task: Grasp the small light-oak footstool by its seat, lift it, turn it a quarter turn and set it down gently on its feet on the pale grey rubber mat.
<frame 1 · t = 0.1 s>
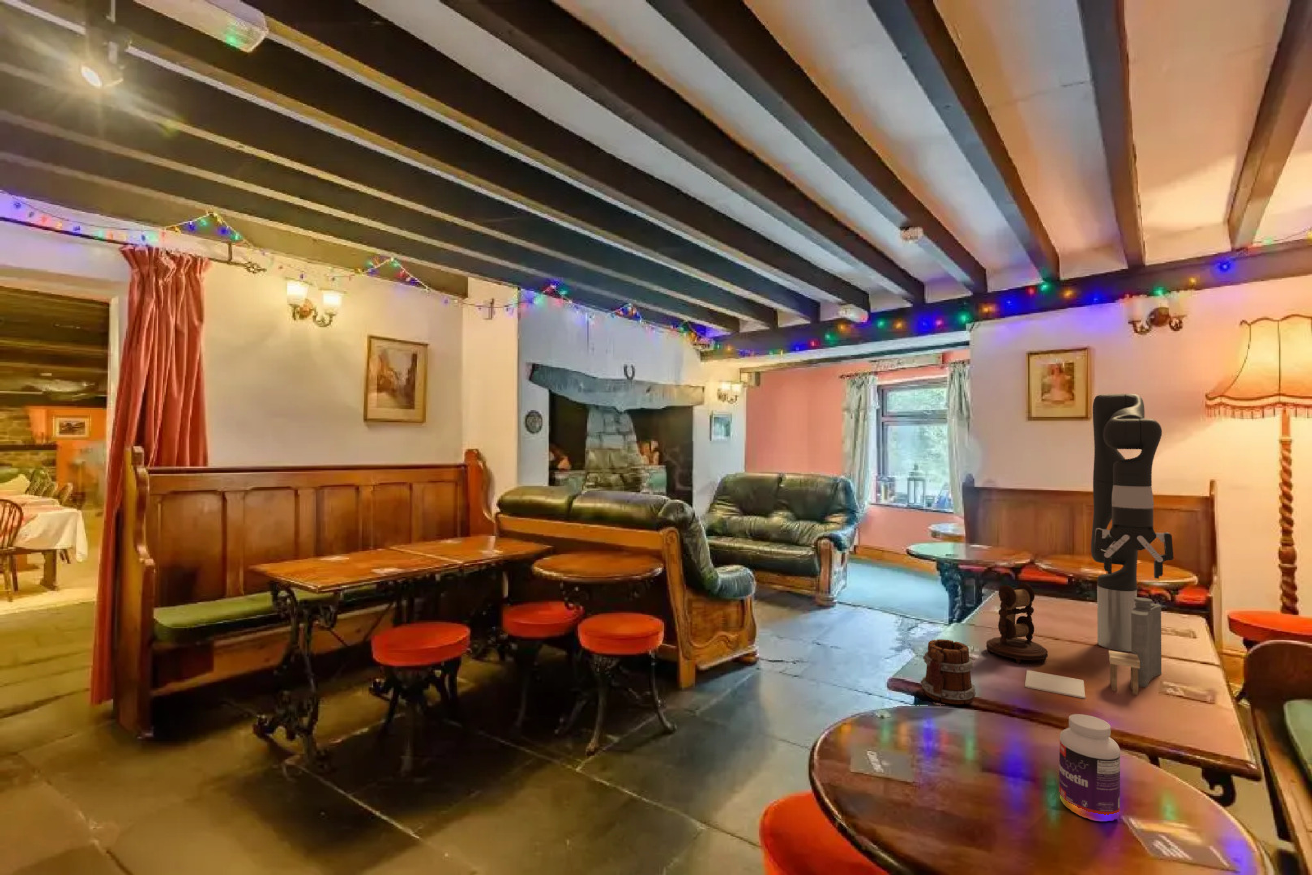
hand: (1132, 575, 140), 29 cm above the table, fingers open, 8 cm apart
hip flask: (1144, 678, 154), on the table
pill bottle: (1089, 811, 98), on the table
mug: (946, 698, 142), on the table
stool: (1123, 688, 147), on the table
mat: (1054, 684, 149), on the table
scroll: (1016, 656, 169), on the table
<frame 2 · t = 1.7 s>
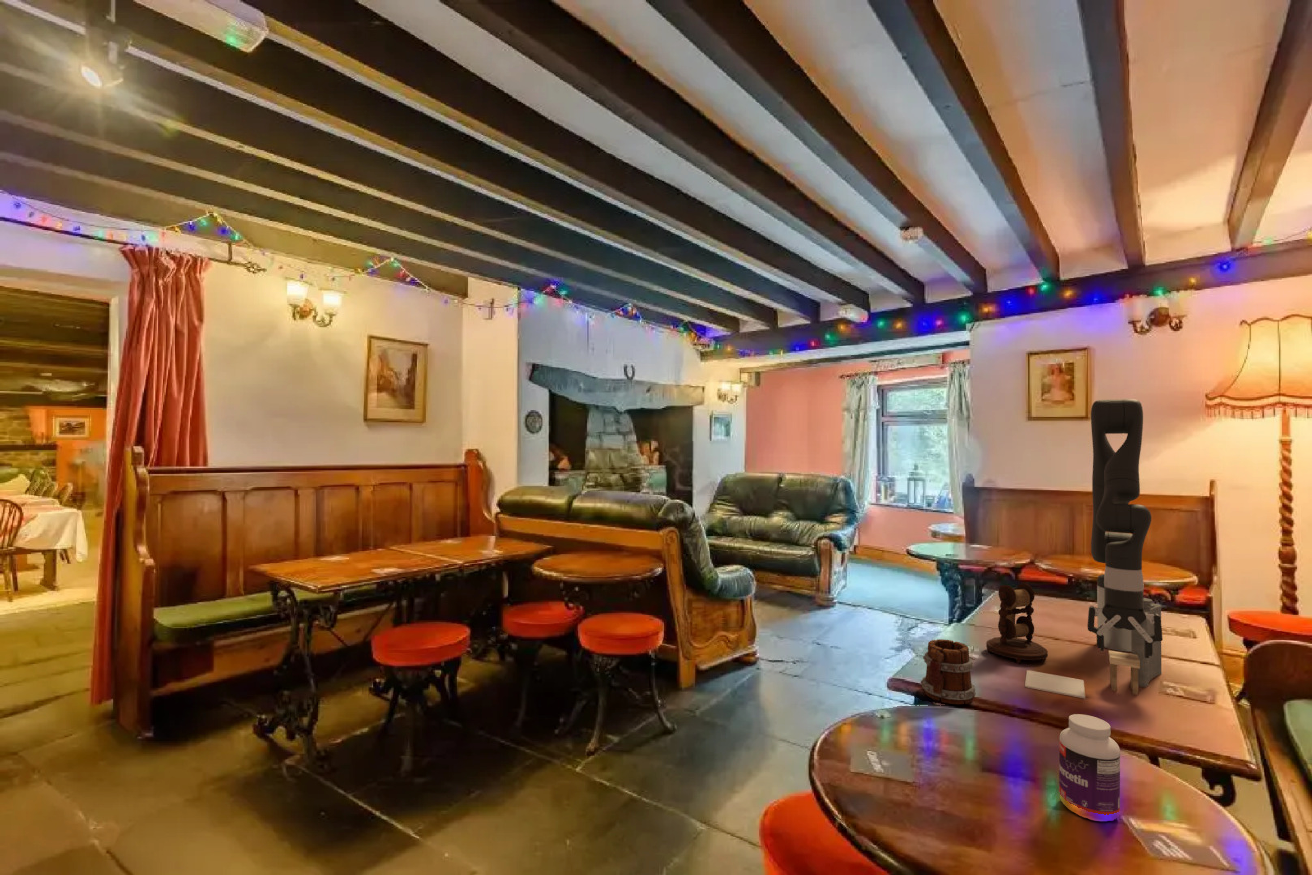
hand: (1123, 653, 146), 9 cm above the table, fingers open, 8 cm apart
nothing on the table moved.
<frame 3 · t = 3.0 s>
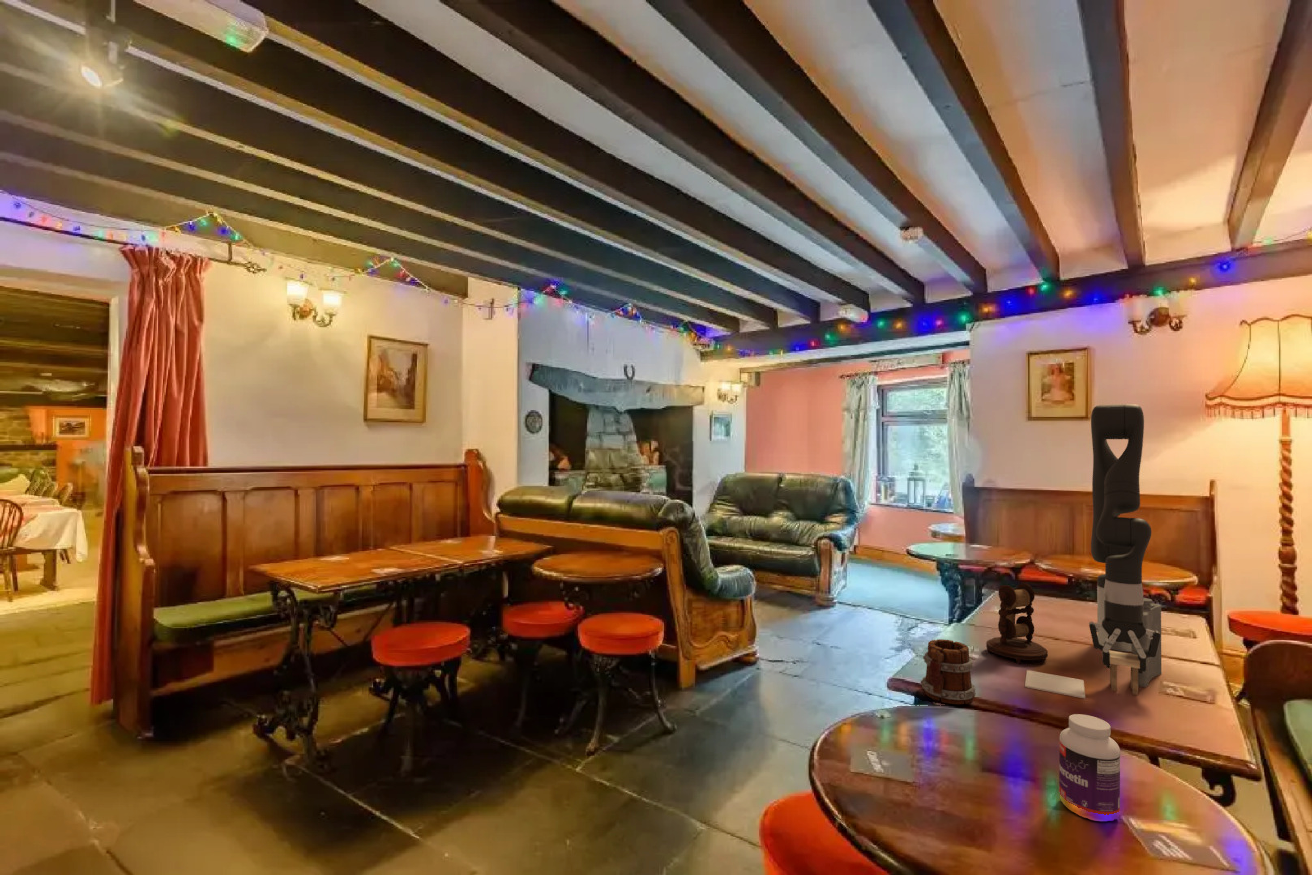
hand: (1123, 669, 147), 5 cm above the table, fingers closed on stool, 5 cm apart
stool: (1123, 688, 147), on the table, touching gripper
everything else where it was.
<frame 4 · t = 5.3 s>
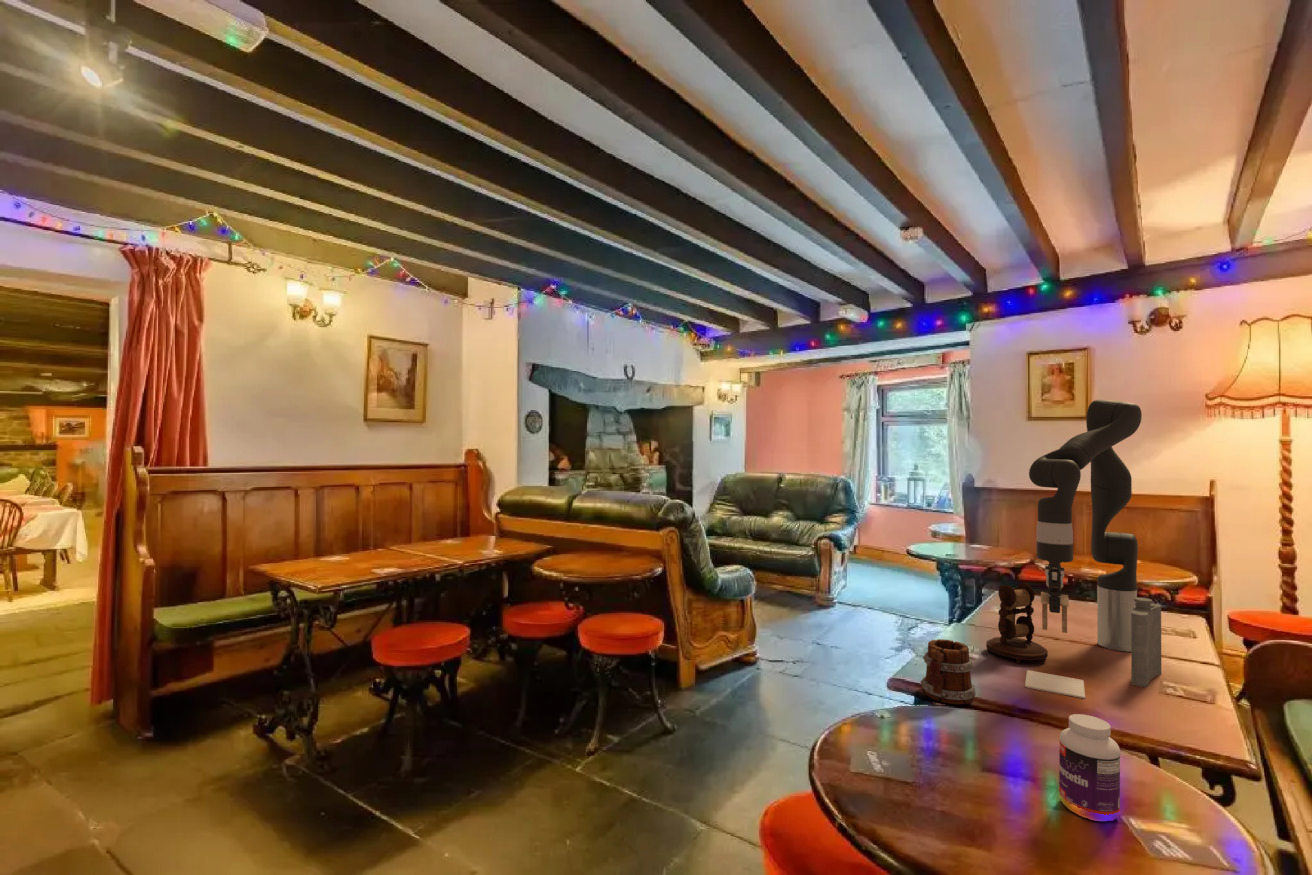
hand: (1054, 609, 149), 19 cm above the table, fingers closed on stool, 5 cm apart
stool: (1054, 628, 149), point 14 cm above the table, touching gripper
everything else where it was.
when the fingers open (6 cm above the table, at t = 7.9 s): stool stays where it is, resting on mat.
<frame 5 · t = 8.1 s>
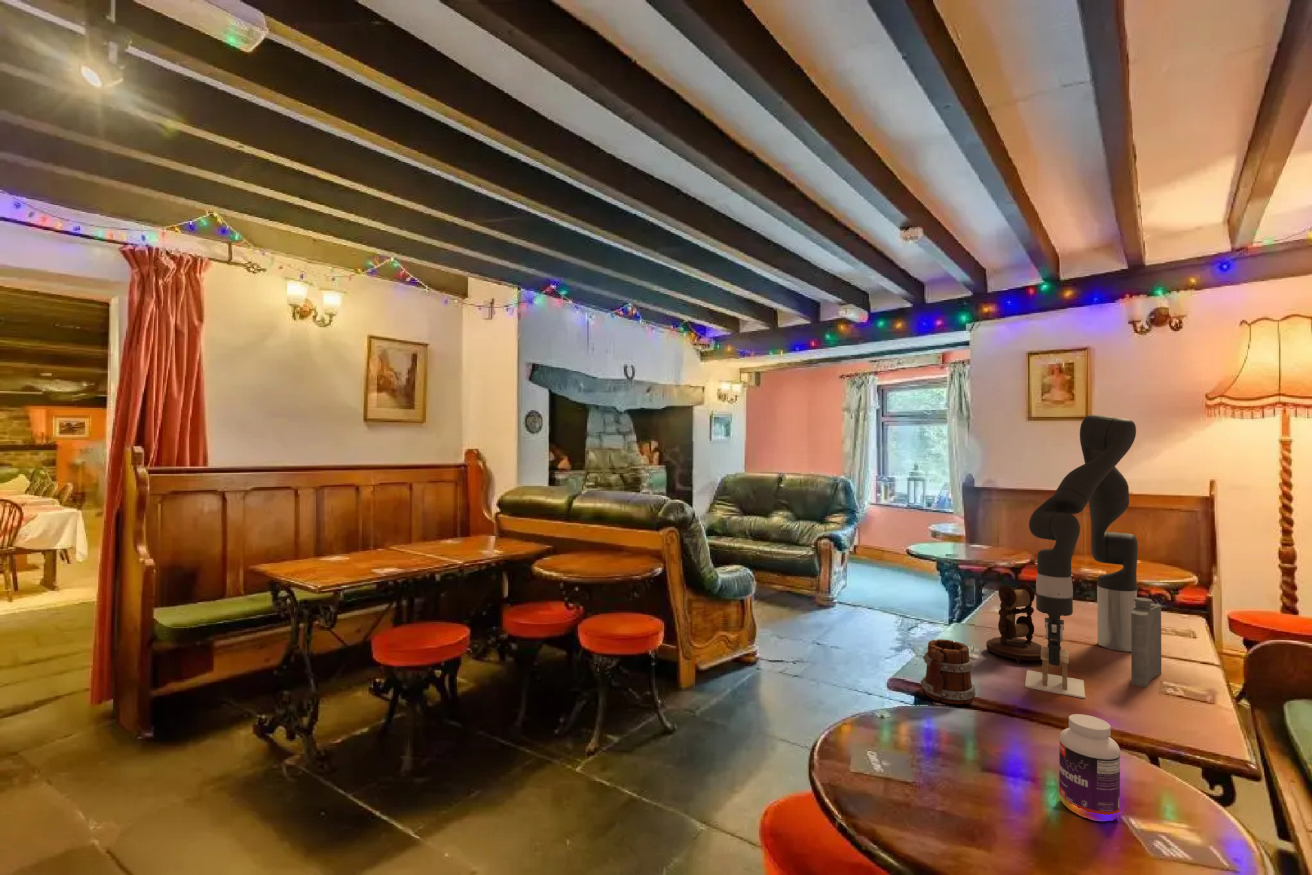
hand: (1054, 659, 149), 6 cm above the table, fingers open, 7 cm apart
stool: (1054, 684, 148), resting on mat
everything else where it was.
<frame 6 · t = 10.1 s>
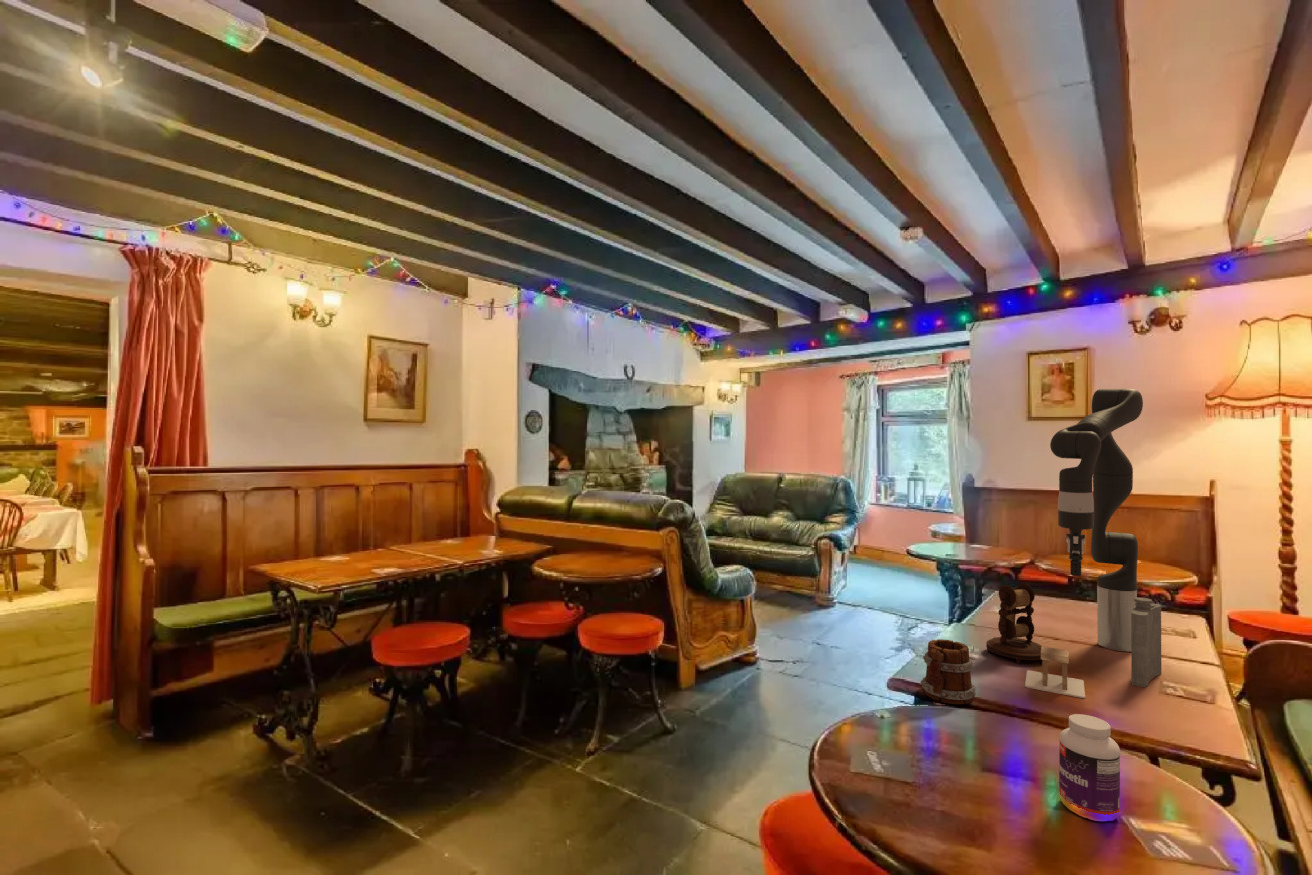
hand: (1075, 571, 156), 26 cm above the table, fingers open, 8 cm apart
nothing on the table moved.
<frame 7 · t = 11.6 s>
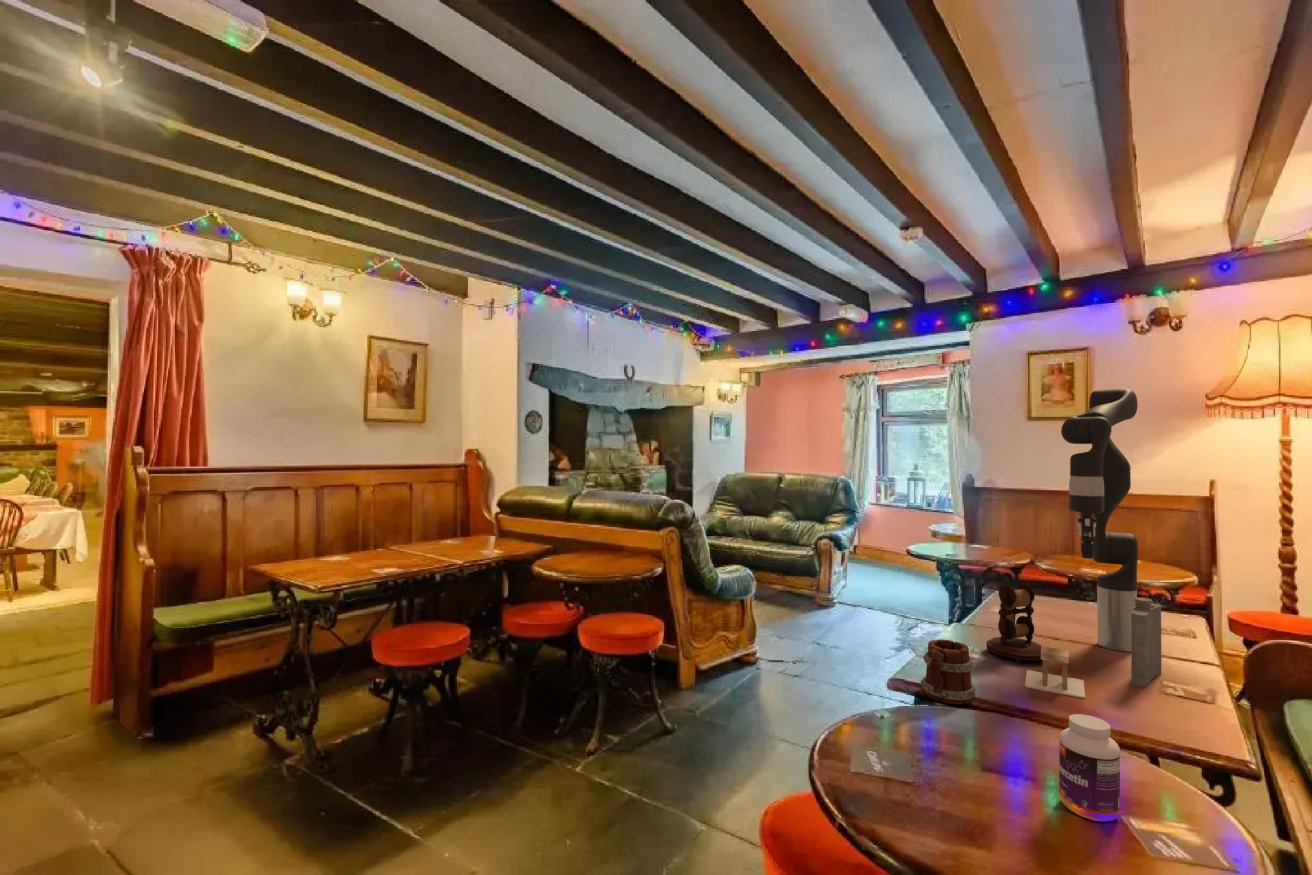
hand: (1086, 555, 158), 30 cm above the table, fingers open, 8 cm apart
nothing on the table moved.
at the end: stool inside the target area on the mat (1.1 cm from its centre), point 0.4 cm above the mat's base; stool tilted 0°; the gripper is holding nothing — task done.
